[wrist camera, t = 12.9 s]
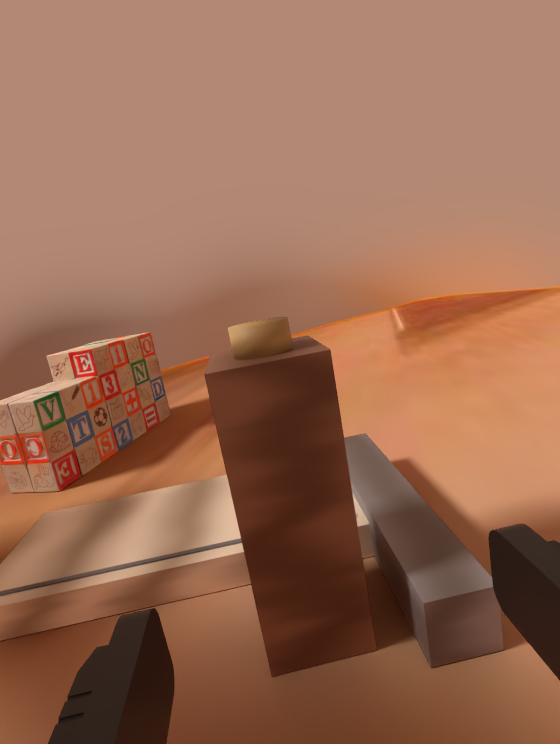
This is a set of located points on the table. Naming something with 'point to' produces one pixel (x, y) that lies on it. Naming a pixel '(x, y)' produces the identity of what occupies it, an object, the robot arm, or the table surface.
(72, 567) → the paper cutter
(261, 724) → the table surface
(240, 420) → the brown pillar with knob
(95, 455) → the stack of blocks
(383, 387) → the table surface
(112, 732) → the robot arm
